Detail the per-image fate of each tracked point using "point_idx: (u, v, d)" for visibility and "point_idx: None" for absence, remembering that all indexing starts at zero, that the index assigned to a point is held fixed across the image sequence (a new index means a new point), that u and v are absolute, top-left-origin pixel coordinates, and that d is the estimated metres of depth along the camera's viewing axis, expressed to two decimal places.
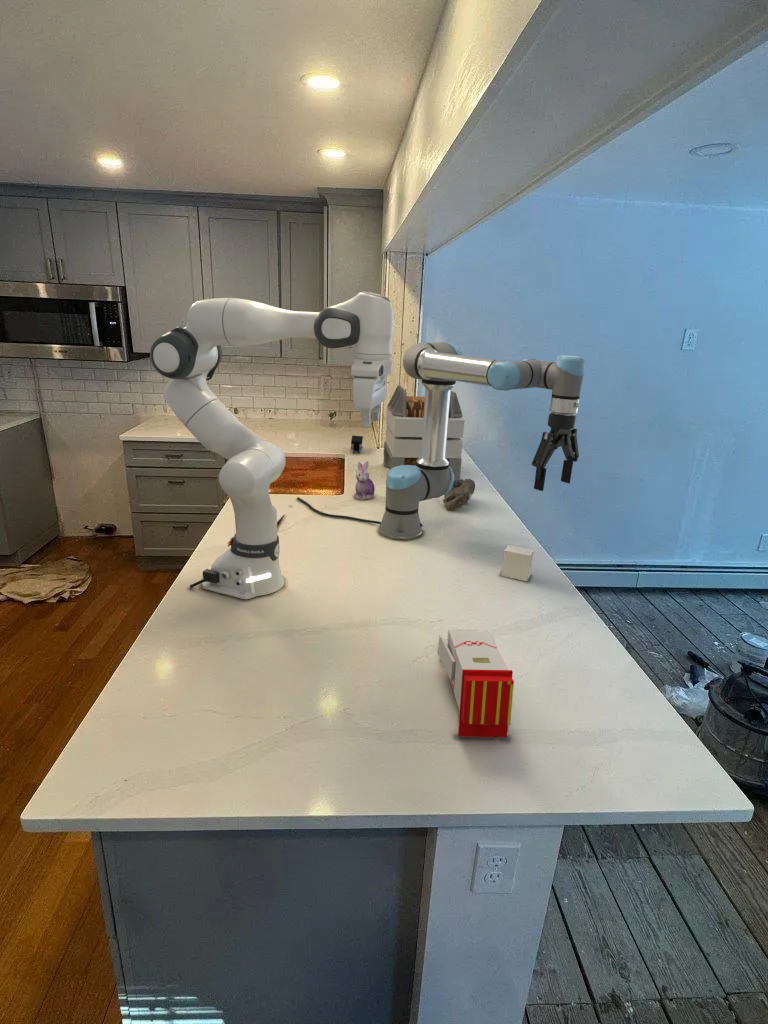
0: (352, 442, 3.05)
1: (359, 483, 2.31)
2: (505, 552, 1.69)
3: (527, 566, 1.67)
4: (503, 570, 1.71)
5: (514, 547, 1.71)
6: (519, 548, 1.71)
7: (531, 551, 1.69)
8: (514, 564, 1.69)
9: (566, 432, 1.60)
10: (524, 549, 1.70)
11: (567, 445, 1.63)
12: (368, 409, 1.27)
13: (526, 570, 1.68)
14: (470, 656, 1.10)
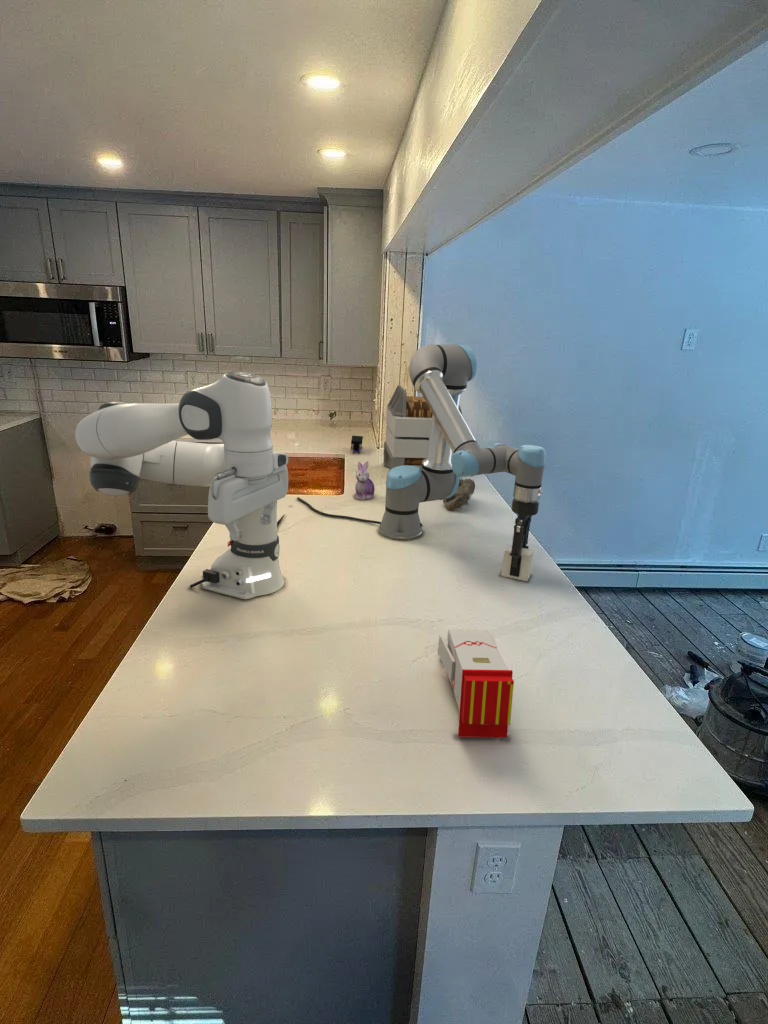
0: (352, 442, 3.05)
1: (359, 483, 2.31)
2: (505, 552, 1.69)
3: (527, 566, 1.67)
4: (503, 570, 1.71)
5: None
6: None
7: (531, 551, 1.69)
8: None
9: (528, 516, 1.67)
10: (524, 549, 1.70)
11: (526, 529, 1.68)
12: None
13: (526, 570, 1.68)
14: (470, 656, 1.10)
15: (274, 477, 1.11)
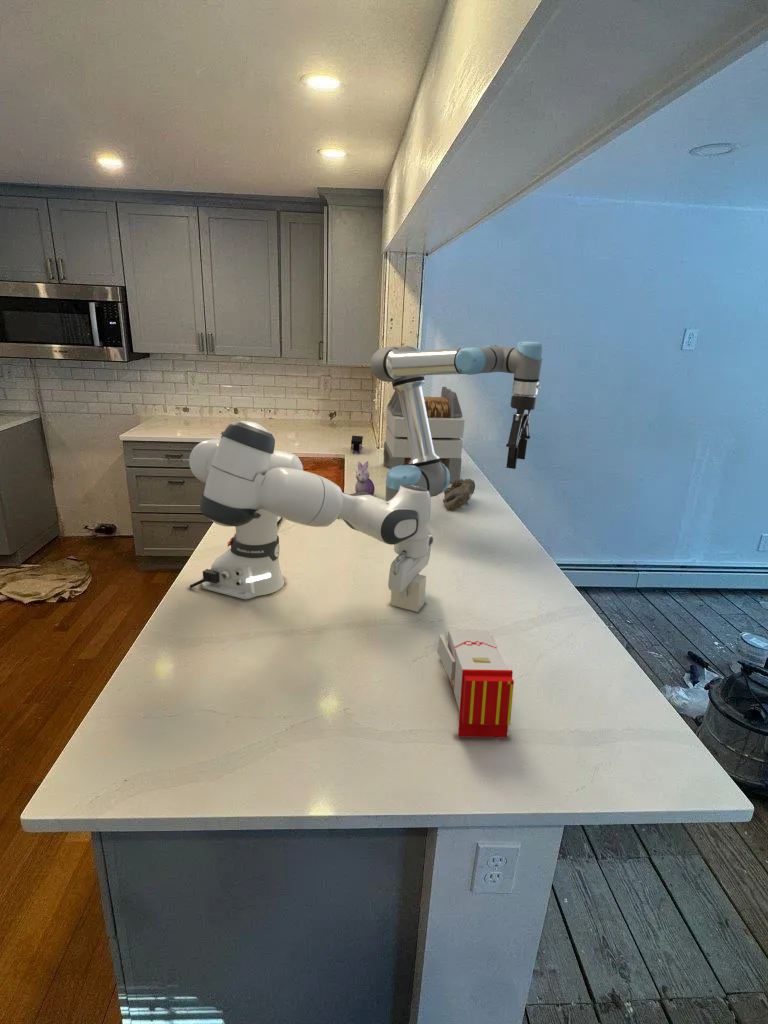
0: (352, 442, 3.05)
1: (359, 483, 2.31)
2: None
3: (416, 594, 1.47)
4: (392, 599, 1.51)
5: None
6: None
7: (422, 577, 1.49)
8: None
9: (526, 412, 1.74)
10: None
11: (526, 424, 1.76)
12: None
13: (416, 599, 1.48)
14: (470, 656, 1.10)
15: None
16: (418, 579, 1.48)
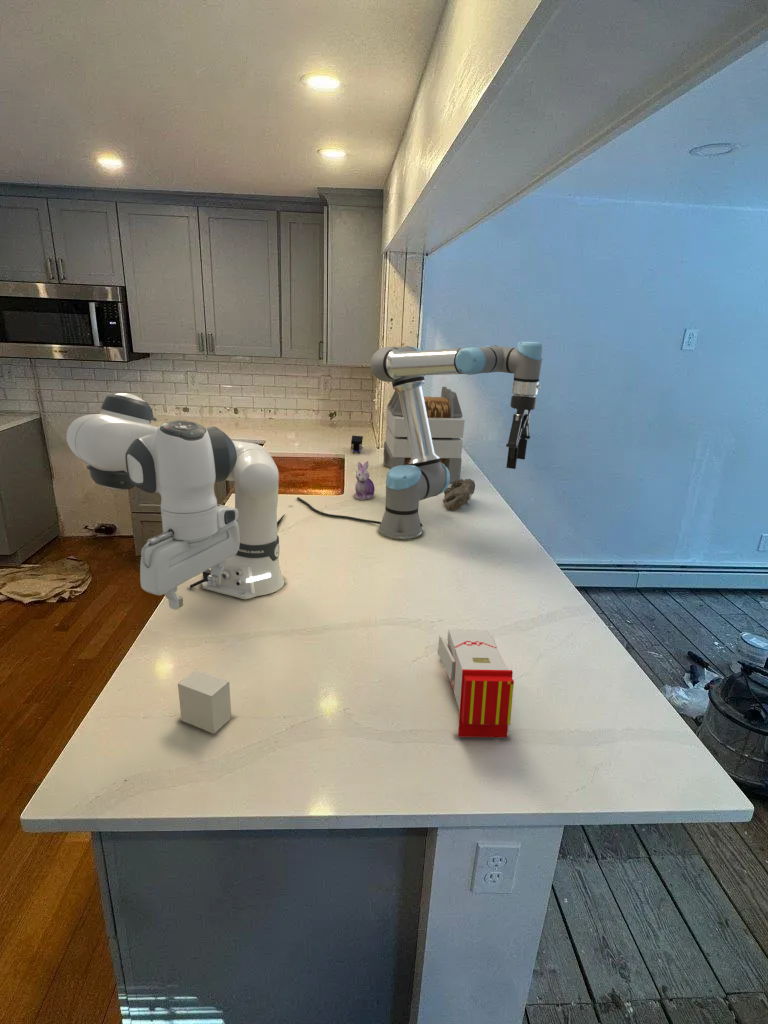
0: (352, 442, 3.05)
1: (359, 483, 2.31)
2: (179, 686, 1.04)
3: (210, 711, 1.02)
4: (182, 713, 1.06)
5: (201, 675, 1.06)
6: (207, 677, 1.06)
7: (222, 684, 1.04)
8: (193, 705, 1.04)
9: (526, 412, 1.74)
10: (214, 680, 1.05)
11: (526, 424, 1.76)
12: None
13: (210, 717, 1.03)
14: (470, 656, 1.10)
15: (222, 534, 1.00)
16: (214, 688, 1.03)
